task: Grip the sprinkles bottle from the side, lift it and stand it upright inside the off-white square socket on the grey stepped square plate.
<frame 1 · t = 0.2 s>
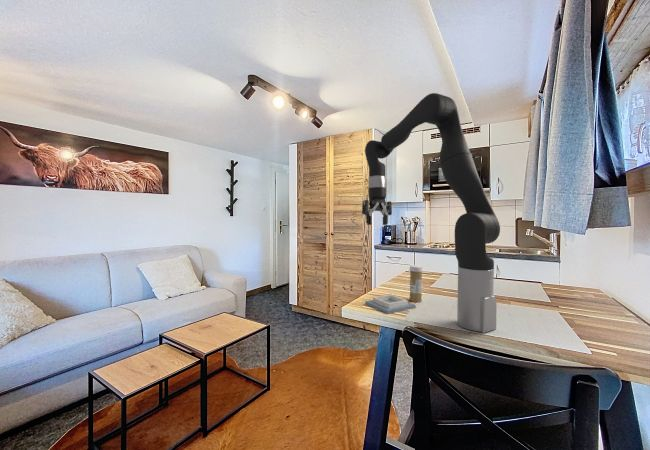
hand: (377, 224, 119), 29 cm above the table, tool pointing down, fingers open, 8 cm apart
grey stepped square plate: (390, 305, 99), on the table
sprinkles bottle: (415, 301, 106), on the table
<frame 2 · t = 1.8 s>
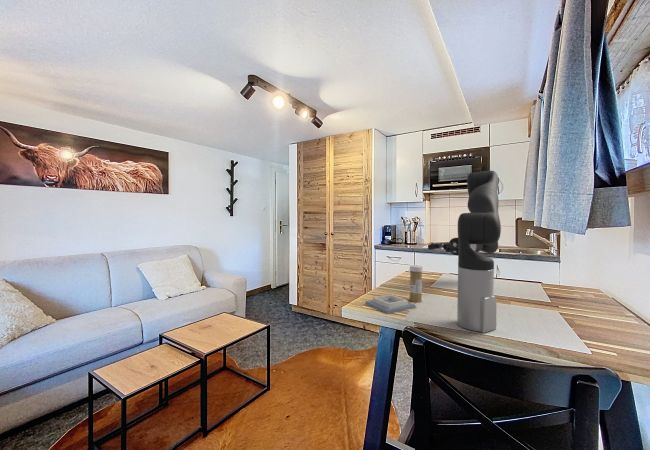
hand: (437, 248, 111), 20 cm above the table, tool horizontal, fingers open, 8 cm apart
nothing on the table moved.
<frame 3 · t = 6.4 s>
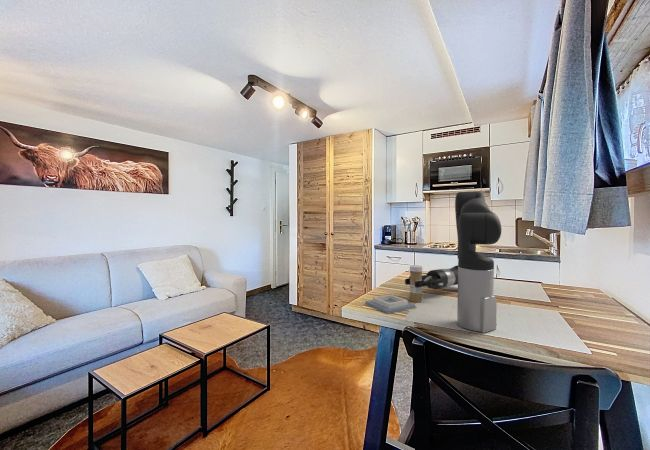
hand: (410, 283, 104), 7 cm above the table, tool horizontal, fingers closed on sprinkles bottle, 4 cm apart
sprinkles bottle: (415, 301, 106), on the table, touching gripper
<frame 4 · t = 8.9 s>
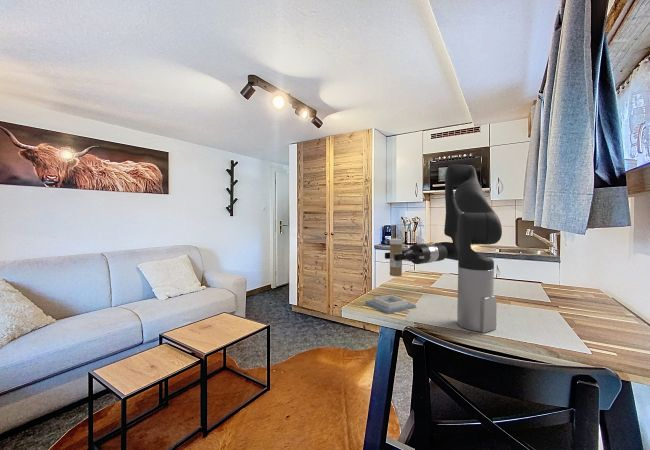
hand: (390, 256, 99), 18 cm above the table, tool horizontal, fingers closed on sprinkles bottle, 4 cm apart
sprinkles bottle: (395, 276, 101), point 11 cm above the table, touching gripper
when the fingers open (9 cm above the table, at t = 11.7 s): sprinkles bottle stays where it is, resting on grey stepped square plate.
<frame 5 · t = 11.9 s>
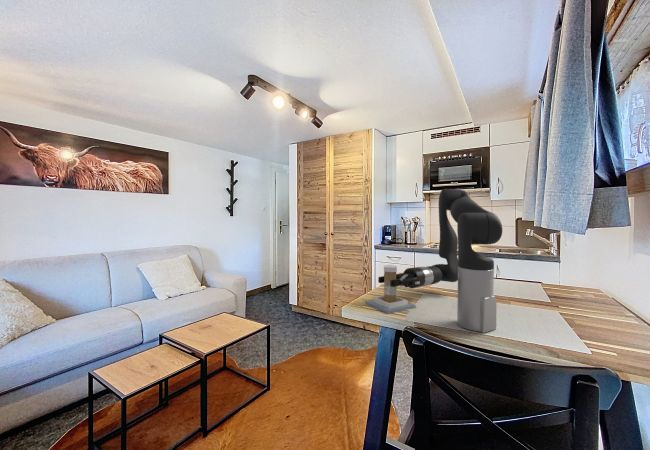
hand: (384, 281, 98), 9 cm above the table, tool horizontal, fingers open, 5 cm apart
sprinkles bottle: (390, 303, 100), point 1 cm above the table, touching grey stepped square plate
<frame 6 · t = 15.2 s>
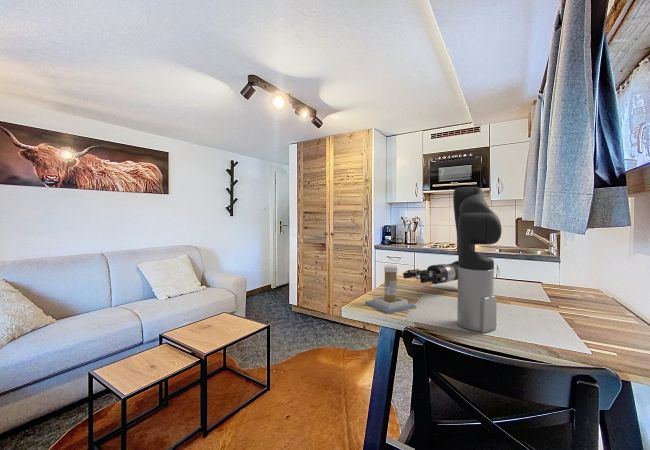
hand: (412, 277, 105), 9 cm above the table, tool horizontal, fingers open, 8 cm apart
nothing on the table moved.
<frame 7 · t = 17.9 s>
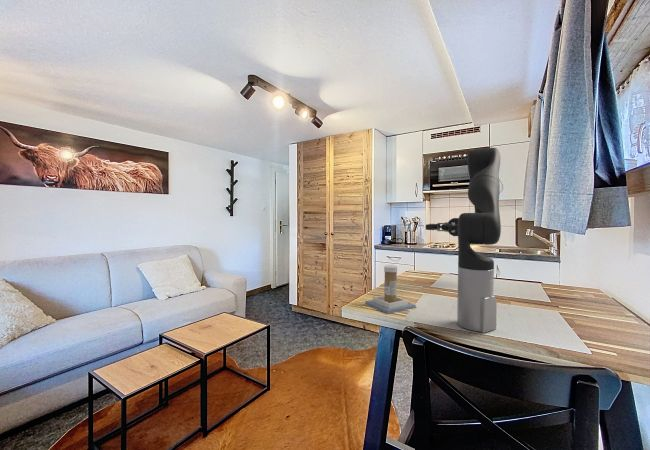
hand: (435, 227, 107), 28 cm above the table, tool horizontal, fingers open, 8 cm apart
nothing on the table moved.
at the end: sprinkles bottle 0.2 cm off-centre on the grey stepped square plate, point 0.8 cm above the grey stepped square plate's base; sprinkles bottle tilted 0°; the gripper is holding nothing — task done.
